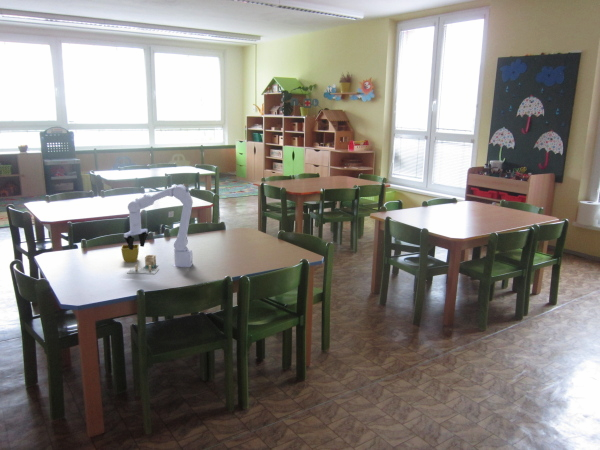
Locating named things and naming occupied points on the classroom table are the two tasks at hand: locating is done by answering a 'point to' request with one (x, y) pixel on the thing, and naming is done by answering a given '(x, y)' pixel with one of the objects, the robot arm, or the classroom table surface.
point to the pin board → (142, 270)
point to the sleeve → (150, 261)
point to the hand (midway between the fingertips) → (136, 247)
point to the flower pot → (130, 253)
